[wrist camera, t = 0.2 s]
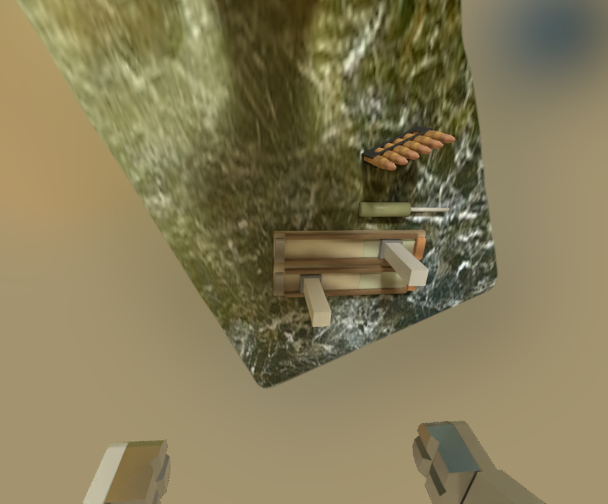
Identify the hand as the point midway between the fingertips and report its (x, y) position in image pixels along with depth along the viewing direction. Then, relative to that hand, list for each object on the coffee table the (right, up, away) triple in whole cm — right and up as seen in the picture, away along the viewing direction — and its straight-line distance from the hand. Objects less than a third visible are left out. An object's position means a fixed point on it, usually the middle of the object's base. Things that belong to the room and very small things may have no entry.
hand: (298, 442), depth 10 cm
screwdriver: (+18, +15, +49) cm, 54 cm away
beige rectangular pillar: (+1, 0, +51) cm, 51 cm away
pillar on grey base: (+17, +7, +51) cm, 54 cm away
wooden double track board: (+9, +4, +52) cm, 53 cm away
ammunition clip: (+15, +25, +44) cm, 53 cm away
